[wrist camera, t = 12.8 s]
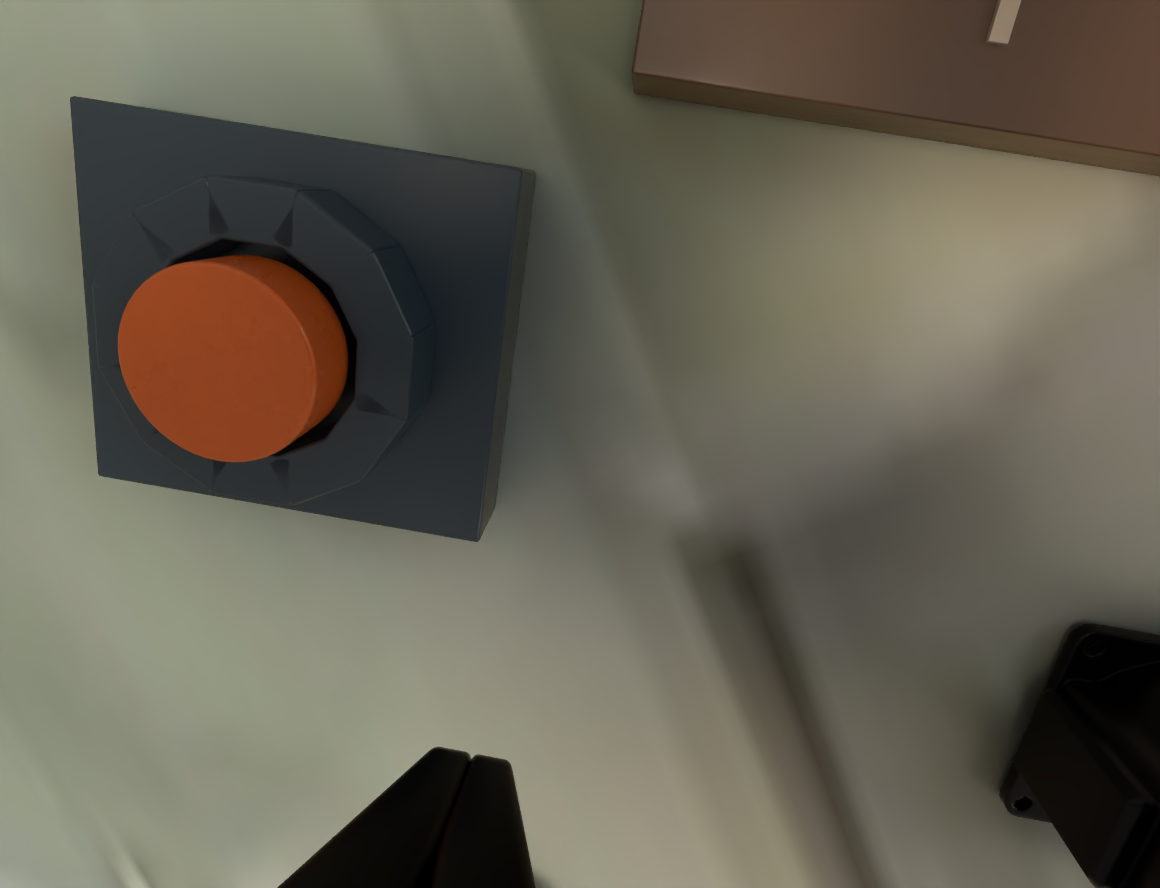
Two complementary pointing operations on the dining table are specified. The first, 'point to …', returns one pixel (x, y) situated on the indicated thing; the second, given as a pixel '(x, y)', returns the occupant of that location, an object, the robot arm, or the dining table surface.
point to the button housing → (349, 282)
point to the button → (232, 355)
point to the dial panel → (924, 69)
